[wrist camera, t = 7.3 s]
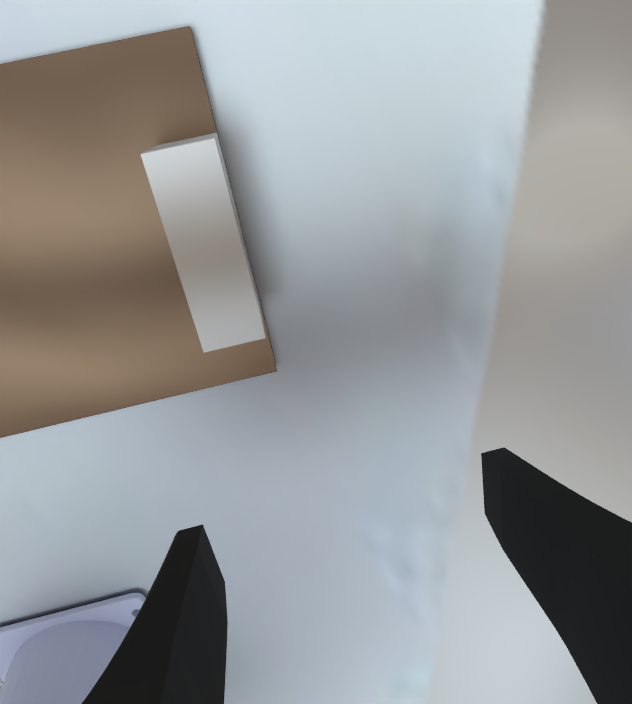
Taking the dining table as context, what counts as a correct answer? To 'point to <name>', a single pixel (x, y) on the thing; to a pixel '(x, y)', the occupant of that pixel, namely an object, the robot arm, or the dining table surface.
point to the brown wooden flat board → (117, 236)
